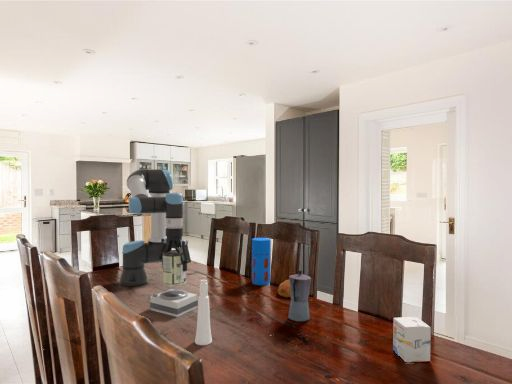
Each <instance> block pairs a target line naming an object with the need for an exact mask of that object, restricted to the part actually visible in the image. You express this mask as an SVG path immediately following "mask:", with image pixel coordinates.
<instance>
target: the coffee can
mask: <svg viewBox="0 0 512 384" xmlns="http://www.w3.org/2000/svg"><path fill="white" fill-rule="evenodd" d="M162 254H163V268H162V285H163V286H167V287H176V286H182V285H185V284H186V283H187V280H186V279H187V277H186V278H184V279H181V264H182V262H181V255H183V253H178V252H177V251H176V250H175V249H172V250H171V251H169V252H165V251H164V252H162Z"/></svg>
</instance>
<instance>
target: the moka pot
mask: <svg viewBox="0 0 512 384" xmlns="http://www.w3.org/2000/svg"><path fill="white" fill-rule="evenodd" d="M302 273H303V270H298V274H292V275H289V276H288V278H289V279H288V280H289V281H290V293H291V298H290V304H289V308H288V316H287V317H288V319H289V320H291V321H295V322H306V321H307V322H308V321H309V320H310V309H309V301H308V300H309V296H310V290H311V283H312V278H311V276H309V275H306V274H302Z"/></svg>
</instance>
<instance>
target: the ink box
mask: <svg viewBox="0 0 512 384" xmlns="http://www.w3.org/2000/svg"><path fill="white" fill-rule="evenodd" d="M392 324H393V326H392V330H393V332H392V334H393V336H392V337H393V338H392V340H393V341H392V349H393V350H394V351H395V353H396V354H397V355H398V356H400V357H401V358H402V359H403V360H404V361H405V362H412V361H430V362H431V339H432V338H431V336H432V334H431V333H432V331H431V330H432V327H431V326H429V325H428V324H427V323H426V322H424V321H423V320H421V319H420V318H418V316H414V317H412V316H407V317H406V316H405V317H404V316H402V317H401V316H400V317H393V323H392ZM393 350H392V351H393ZM395 353H394V354H395ZM396 354H395V355H396ZM397 355H396V356H397ZM398 356H397V357H398Z"/></svg>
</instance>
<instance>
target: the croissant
mask: <svg viewBox="0 0 512 384" xmlns="http://www.w3.org/2000/svg"><path fill="white" fill-rule="evenodd" d="M277 294H278V295H279V296H281V297H284V298H288V297H290V299H291V293H290V281H289V279H286V280H284V281H283V282H281V283H280V284H279V286H278V288H277Z"/></svg>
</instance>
